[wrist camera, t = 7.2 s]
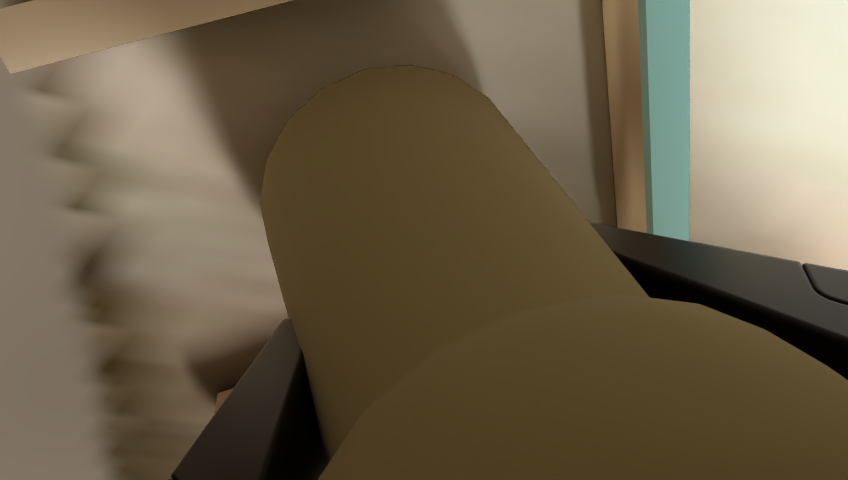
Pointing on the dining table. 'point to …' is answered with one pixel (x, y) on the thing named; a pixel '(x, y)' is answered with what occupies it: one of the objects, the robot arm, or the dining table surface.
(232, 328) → the dining table surface
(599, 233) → the robot arm
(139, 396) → the dining table surface
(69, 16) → the notch rack
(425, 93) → the cork
